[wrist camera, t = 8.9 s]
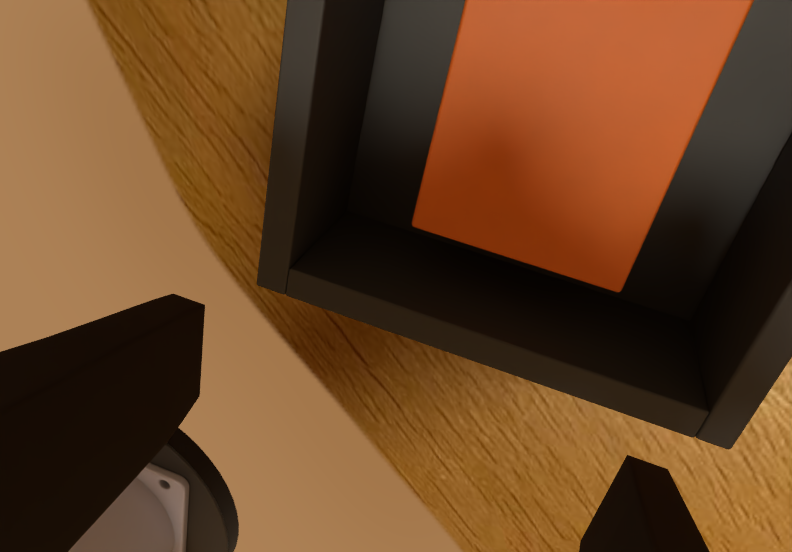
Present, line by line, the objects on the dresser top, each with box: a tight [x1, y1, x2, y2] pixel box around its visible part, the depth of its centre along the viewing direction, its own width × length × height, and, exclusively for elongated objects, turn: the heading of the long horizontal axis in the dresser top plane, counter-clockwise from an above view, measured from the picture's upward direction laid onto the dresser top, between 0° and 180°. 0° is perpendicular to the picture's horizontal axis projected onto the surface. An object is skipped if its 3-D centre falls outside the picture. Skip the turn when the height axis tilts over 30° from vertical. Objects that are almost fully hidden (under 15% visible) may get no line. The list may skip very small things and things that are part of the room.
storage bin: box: [257, 0, 792, 449], centre depth 13 cm, size 12×14×5 cm
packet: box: [412, 0, 754, 292], centre depth 14 cm, size 5×9×3 cm, turn 168°
